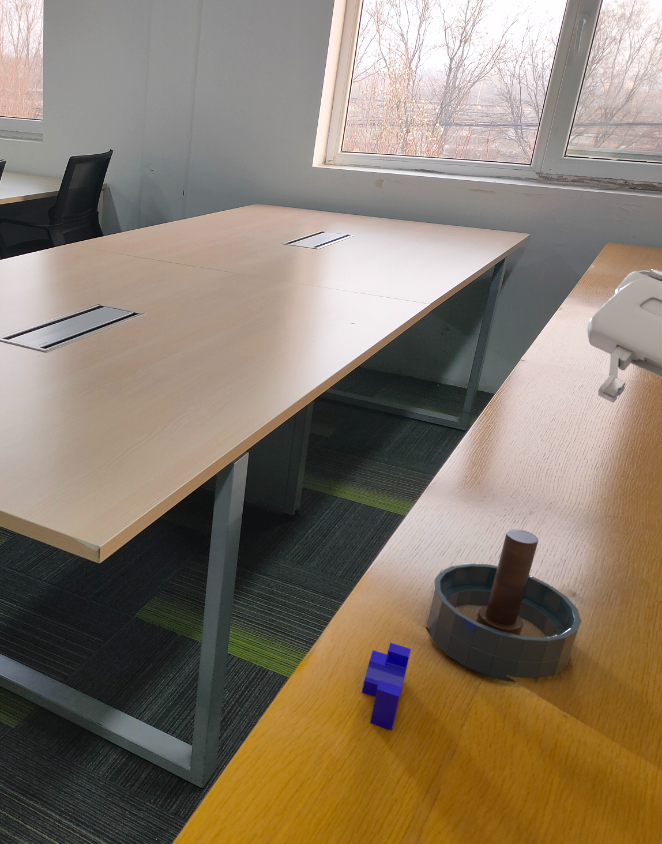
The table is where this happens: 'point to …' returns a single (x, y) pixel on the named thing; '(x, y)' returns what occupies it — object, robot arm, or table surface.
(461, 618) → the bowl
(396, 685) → the blue stepped block
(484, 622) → the pestle
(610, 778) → the table surface
